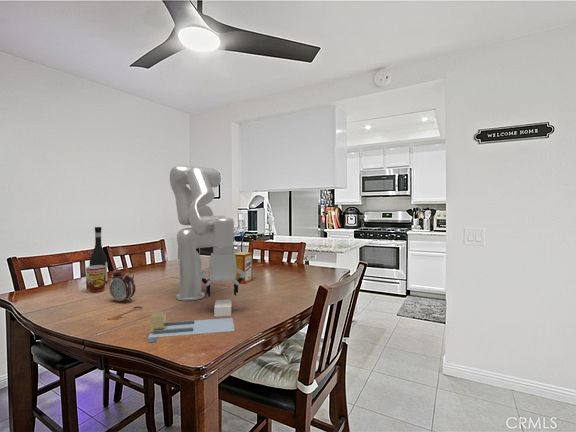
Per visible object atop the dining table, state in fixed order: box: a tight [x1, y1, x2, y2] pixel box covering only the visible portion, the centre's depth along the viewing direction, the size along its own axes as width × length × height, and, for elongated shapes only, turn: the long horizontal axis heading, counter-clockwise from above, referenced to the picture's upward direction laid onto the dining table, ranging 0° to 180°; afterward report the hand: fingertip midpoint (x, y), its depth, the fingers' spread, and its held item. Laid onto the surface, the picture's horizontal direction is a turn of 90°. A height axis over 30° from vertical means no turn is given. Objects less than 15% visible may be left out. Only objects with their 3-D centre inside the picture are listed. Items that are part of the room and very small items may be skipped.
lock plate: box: [147, 317, 235, 344], centre depth 105 cm, size 12×26×2 cm, turn 103°
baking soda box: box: [232, 251, 254, 285], centre depth 174 cm, size 10×6×16 cm
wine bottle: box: [89, 226, 108, 284], centre depth 166 cm, size 8×8×30 cm
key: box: [107, 306, 143, 321], centre depth 121 cm, size 6×1×15 cm
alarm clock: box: [108, 266, 136, 304], centre depth 136 cm, size 11×5×15 cm, turn 70°
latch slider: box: [149, 310, 167, 334], centre depth 102 cm, size 5×4×5 cm
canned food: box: [85, 265, 106, 295], centre depth 152 cm, size 8×8×12 cm
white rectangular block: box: [213, 299, 233, 318], centre depth 120 cm, size 9×6×5 cm, turn 9°
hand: (222, 294), depth 120 cm, fingers open, 9 cm apart
